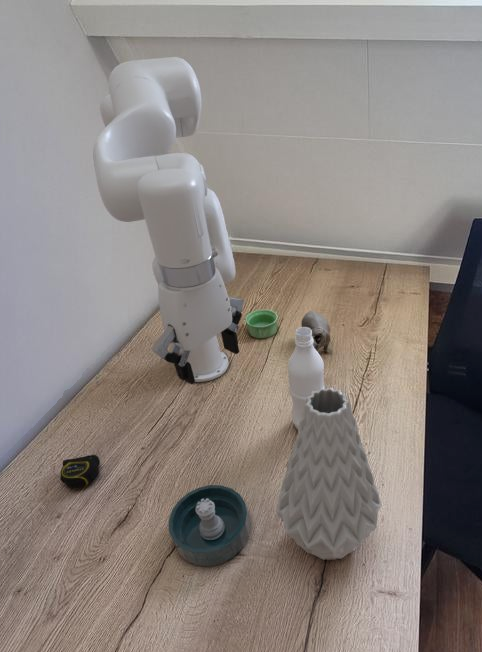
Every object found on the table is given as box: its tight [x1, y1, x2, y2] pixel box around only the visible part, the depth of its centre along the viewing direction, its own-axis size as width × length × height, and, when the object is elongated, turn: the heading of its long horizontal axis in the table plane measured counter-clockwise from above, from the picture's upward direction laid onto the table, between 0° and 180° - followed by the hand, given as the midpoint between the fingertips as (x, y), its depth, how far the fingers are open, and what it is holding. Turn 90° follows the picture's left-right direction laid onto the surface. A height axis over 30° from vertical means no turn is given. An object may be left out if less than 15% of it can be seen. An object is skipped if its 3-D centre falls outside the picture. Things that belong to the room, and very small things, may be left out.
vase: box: [276, 386, 382, 561], centre depth 69 cm, size 17×17×33 cm
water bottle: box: [287, 326, 325, 430], centre depth 91 cm, size 7×7×25 cm
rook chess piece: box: [196, 498, 225, 540], centre depth 79 cm, size 4×4×8 cm
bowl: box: [168, 484, 251, 567], centre depth 80 cm, size 13×13×5 cm
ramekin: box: [244, 308, 279, 339], centre depth 127 cm, size 9×9×4 cm
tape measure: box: [59, 454, 101, 490], centre depth 91 cm, size 7×7×4 cm
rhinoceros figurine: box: [300, 310, 331, 354], centre depth 118 cm, size 8×14×15 cm
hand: (210, 364), depth 75 cm, fingers open, 9 cm apart
